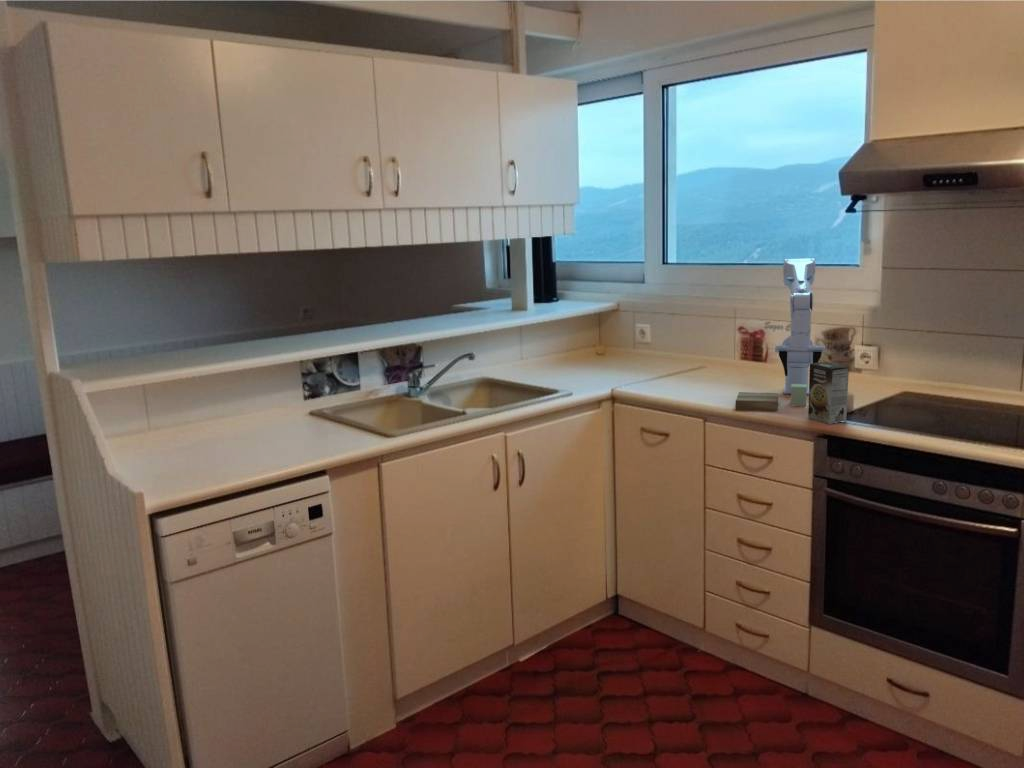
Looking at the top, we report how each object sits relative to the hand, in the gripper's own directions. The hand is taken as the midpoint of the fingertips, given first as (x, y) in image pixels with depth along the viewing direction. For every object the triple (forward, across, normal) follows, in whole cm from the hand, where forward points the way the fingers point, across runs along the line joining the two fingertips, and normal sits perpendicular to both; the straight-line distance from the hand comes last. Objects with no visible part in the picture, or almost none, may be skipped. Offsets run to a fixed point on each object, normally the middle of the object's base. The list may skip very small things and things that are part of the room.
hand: (799, 375), depth 252 cm
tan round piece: (+9, +13, -6) cm, 17 cm away
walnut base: (+9, -12, -5) cm, 16 cm away
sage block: (+9, 0, 0) cm, 9 cm away
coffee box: (+9, +8, -19) cm, 23 cm away
